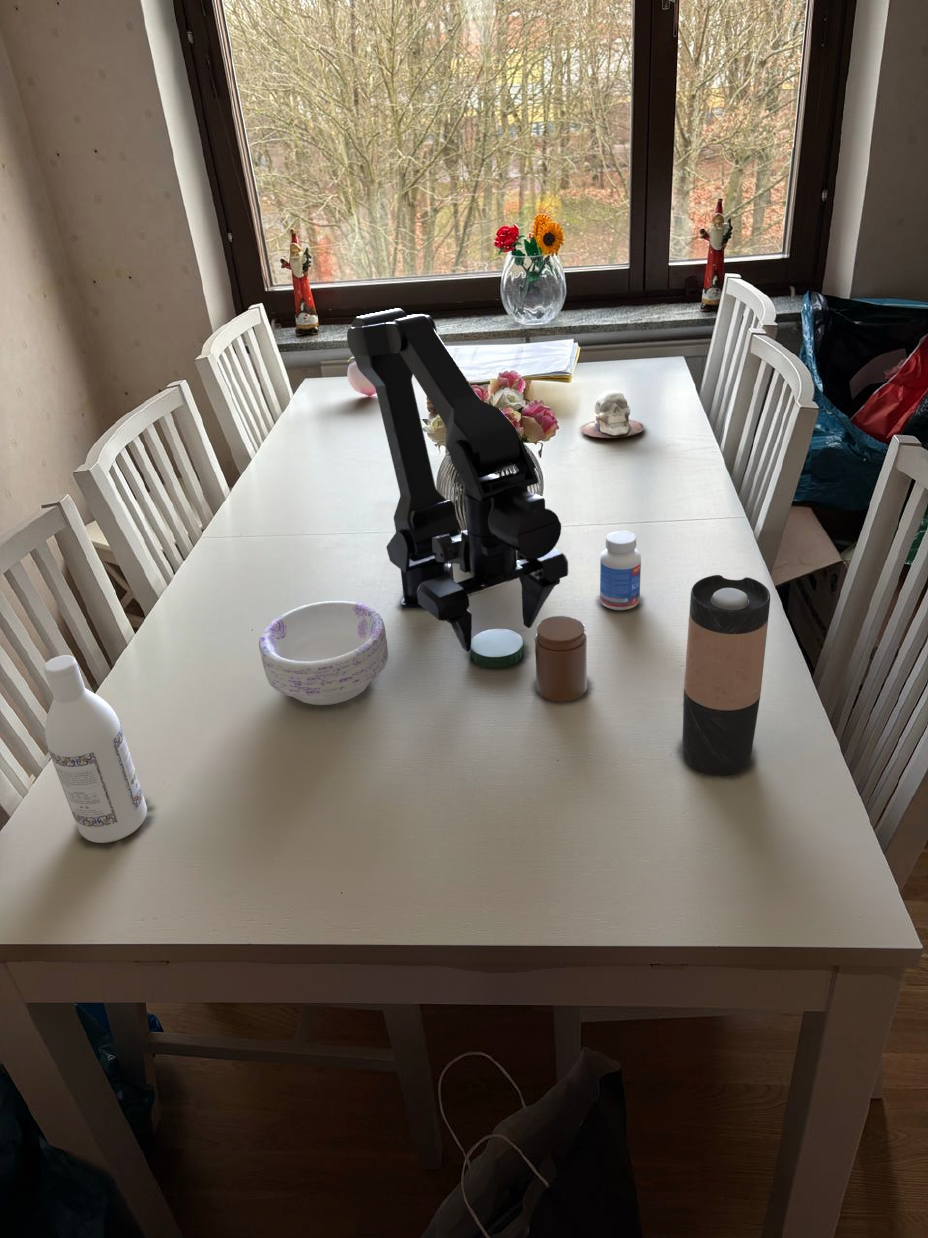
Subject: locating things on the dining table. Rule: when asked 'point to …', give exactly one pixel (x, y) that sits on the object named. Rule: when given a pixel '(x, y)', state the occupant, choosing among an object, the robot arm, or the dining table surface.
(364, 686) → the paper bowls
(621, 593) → the pill bottle
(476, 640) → the jar lid
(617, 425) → the skull
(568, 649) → the honey jar
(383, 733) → the dining table surface
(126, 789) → the bath foam
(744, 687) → the travel mug
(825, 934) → the dining table surface
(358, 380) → the decorative fruit
